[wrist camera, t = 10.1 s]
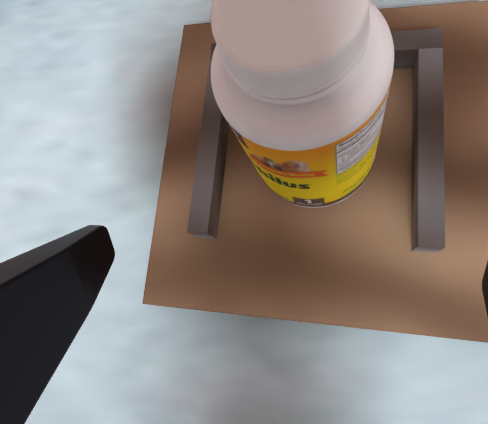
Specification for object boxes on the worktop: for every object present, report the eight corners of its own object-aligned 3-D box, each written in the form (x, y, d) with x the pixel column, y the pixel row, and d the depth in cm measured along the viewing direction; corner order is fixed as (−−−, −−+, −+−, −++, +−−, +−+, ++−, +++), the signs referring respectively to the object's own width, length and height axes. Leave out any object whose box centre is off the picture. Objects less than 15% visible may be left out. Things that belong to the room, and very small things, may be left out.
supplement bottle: (237, 160, 20) (139, 20, 10) (315, 85, 20) (288, -124, 10) (314, 236, 18) (281, 149, 9) (401, 153, 18) (464, -28, 8)
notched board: (493, 341, 17) (522, 348, 14) (153, 303, 21) (127, 303, 18) (481, 17, 20) (502, -25, 17) (191, 38, 24) (173, 6, 21)
